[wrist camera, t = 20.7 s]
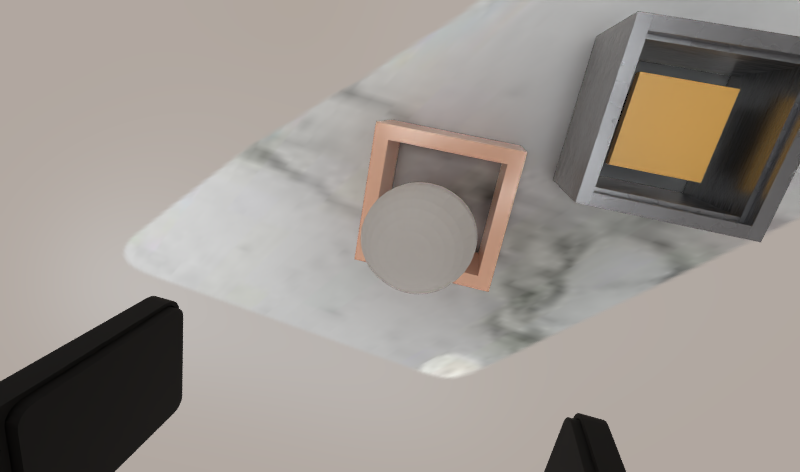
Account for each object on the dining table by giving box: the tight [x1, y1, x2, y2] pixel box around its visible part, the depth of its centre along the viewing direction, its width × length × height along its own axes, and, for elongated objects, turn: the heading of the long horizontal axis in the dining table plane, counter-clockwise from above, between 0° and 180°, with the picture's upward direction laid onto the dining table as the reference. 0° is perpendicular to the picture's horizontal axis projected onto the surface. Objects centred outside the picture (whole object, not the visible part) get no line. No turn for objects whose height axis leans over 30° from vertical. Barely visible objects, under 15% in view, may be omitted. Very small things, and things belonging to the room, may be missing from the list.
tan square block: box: [605, 72, 740, 183], centre depth 27 cm, size 6×6×4 cm
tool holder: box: [355, 120, 527, 292], centre depth 31 cm, size 10×10×5 cm
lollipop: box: [361, 182, 478, 294], centre depth 26 cm, size 6×6×15 cm
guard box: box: [553, 11, 800, 242], centre depth 26 cm, size 10×10×8 cm
